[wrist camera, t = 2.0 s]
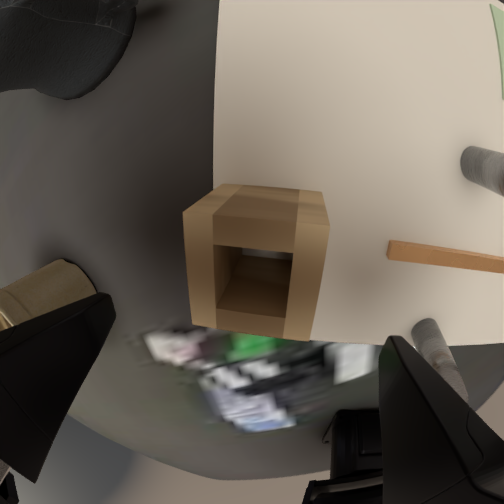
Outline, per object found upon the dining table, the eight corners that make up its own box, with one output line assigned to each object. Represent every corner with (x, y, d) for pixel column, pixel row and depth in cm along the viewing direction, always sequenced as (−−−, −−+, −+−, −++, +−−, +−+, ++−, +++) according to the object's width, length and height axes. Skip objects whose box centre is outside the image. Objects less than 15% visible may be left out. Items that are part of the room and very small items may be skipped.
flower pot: (106, 348, 23) (59, 411, 15) (40, 291, 22) (-13, 338, 14) (128, 288, 19) (56, 367, 11) (46, 219, 18) (-32, 267, 10)
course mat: (517, 338, 14) (520, 342, 14) (218, 323, 18) (216, 329, 18) (569, 61, 4) (573, 61, 3) (227, -56, 8) (225, -61, 7)
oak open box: (310, 280, 15) (309, 341, 11) (223, 269, 16) (192, 324, 12) (321, 191, 13) (330, 226, 9) (222, 183, 14) (182, 212, 9)
